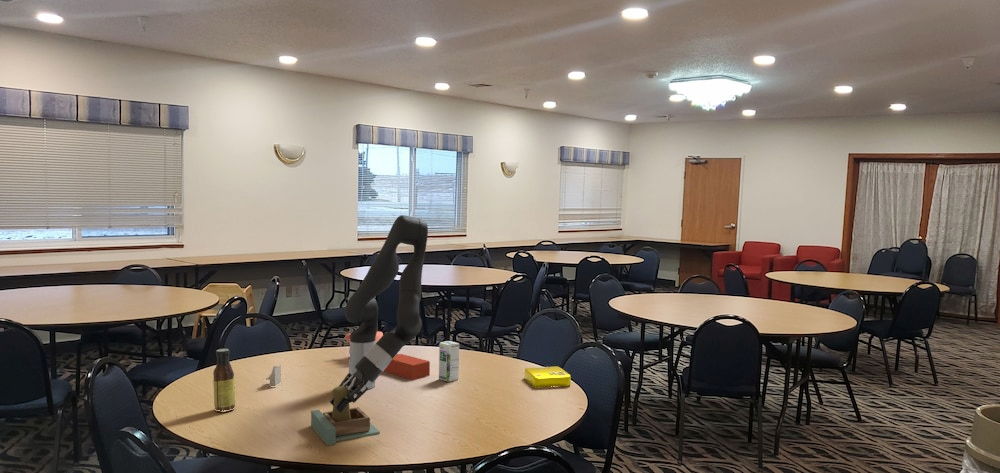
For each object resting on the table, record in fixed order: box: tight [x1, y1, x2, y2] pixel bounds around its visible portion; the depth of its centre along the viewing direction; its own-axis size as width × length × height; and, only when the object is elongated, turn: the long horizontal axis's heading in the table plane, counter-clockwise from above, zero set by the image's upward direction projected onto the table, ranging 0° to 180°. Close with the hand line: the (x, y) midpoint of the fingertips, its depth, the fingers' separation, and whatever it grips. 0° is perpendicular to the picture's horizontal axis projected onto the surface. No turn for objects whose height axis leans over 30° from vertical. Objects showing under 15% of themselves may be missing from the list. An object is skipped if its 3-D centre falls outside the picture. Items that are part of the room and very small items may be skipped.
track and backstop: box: [310, 409, 381, 446], centre depth 194 cm, size 18×16×5 cm
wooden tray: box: [322, 406, 371, 436], centre depth 194 cm, size 11×11×4 cm
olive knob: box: [331, 386, 351, 422], centre depth 193 cm, size 6×6×11 cm
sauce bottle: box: [212, 348, 236, 411], centre depth 210 cm, size 7×6×20 cm
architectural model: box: [265, 364, 282, 387], centre depth 239 cm, size 3×7×7 cm, turn 177°
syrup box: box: [438, 340, 460, 383], centre depth 251 cm, size 6×6×14 cm
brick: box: [383, 353, 431, 381], centre depth 259 cm, size 18×9×6 cm, turn 49°
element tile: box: [523, 366, 572, 389], centre depth 250 cm, size 15×15×5 cm
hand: (335, 407), depth 192 cm, fingers closed on olive knob, 5 cm apart
